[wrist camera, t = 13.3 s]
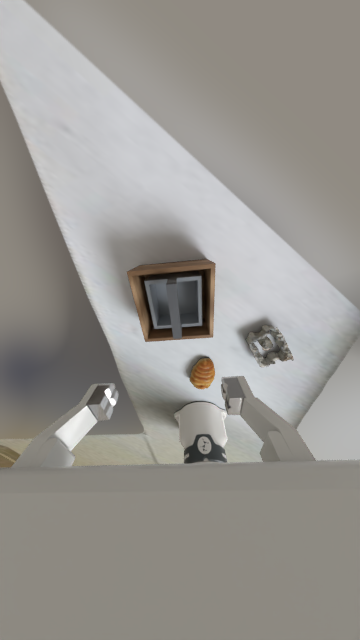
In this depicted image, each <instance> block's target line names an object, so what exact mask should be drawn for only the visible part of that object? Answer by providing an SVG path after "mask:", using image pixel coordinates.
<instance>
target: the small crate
mask: <svg viewBox="0 0 360 640" xmlns="http://www.w3.org/2000/svg"><path fill="white" fill-rule="evenodd" d="M144 282H145V287H146V291H147V296H148V301H149V305H150V310H151V315H152V320H153V324H154V329H162V328H172V333H173V339H182V327H190V326H202V279H201V274H200V273H199V271H189V272H178V273H167V274H157V275H150V276H149V277H148V278H147V279H146V280H145V281H144Z"/></svg>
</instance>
